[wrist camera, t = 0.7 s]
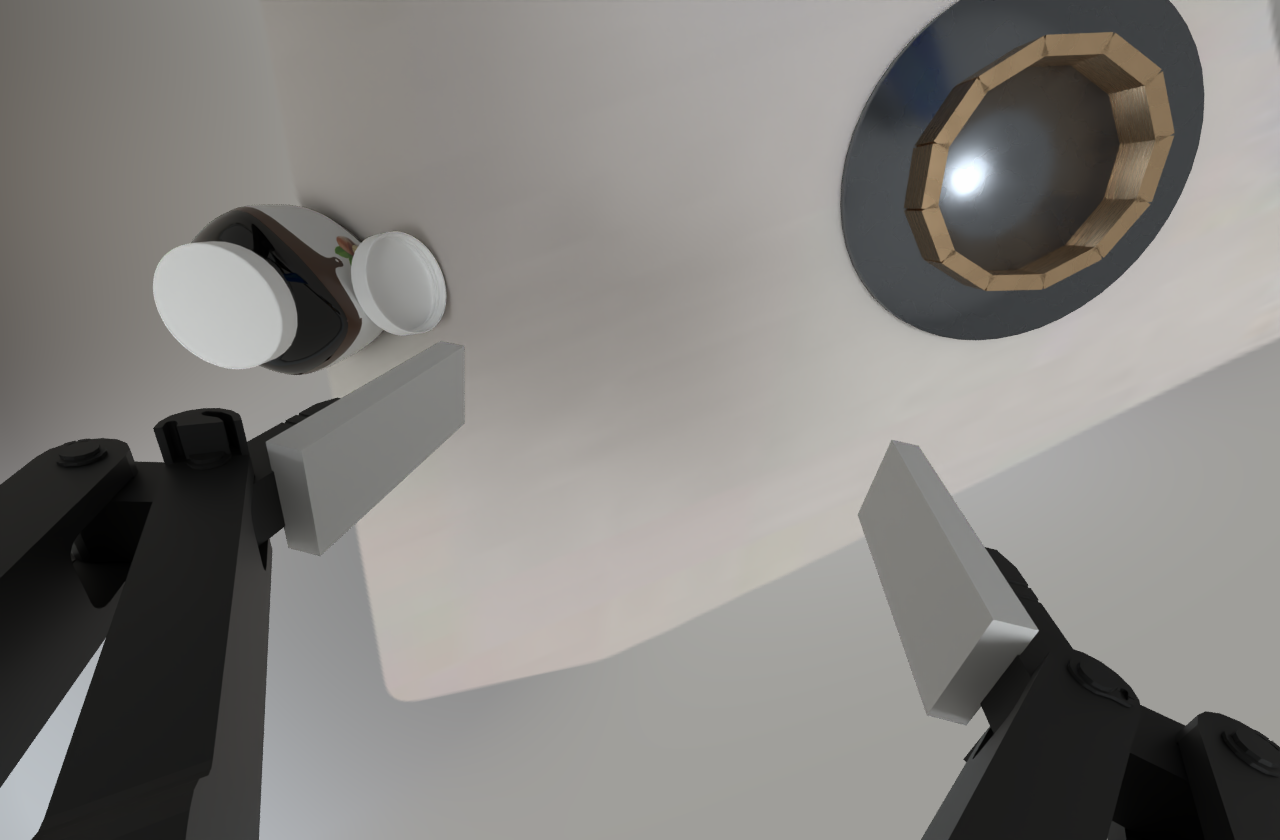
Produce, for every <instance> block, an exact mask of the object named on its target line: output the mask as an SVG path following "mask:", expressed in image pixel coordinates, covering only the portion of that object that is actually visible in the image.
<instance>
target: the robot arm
mask: <svg viewBox="0 0 1280 840" xmlns="http://www.w3.org/2000/svg"><path fill="white" fill-rule="evenodd" d="M463 424H464V346H462V345H457V344H452V343H448V342H443V341H440V342H439V343H437V344H435V345H433V346H432V347H430V348H428V349H426V350H425V351H423V352H421V353H419V354H418V355H416V356H414V357H412V358H411V359H409V360H407V361H405V362H404V363H402V364H400V365H398V366H397V367H395V368H393V369H391V370H390V371H388V372H386V373H385V374H383V375H381V376H379V377H378V378H376V379H374V380H372V381H371V382H369V383H367V384H365V385H364V386H362V387H360V388H358V389H357V390H355V391H353V392H351V393H350V394H348V395H346V396H344V397H343V398H335V399H331V400H328V401H324V402H321V403H317V404H315V405H313V406H311V407H309V408H308V409H306V410H304V411H302V412H301V413H299V415H295V416H293V417H292V418H289V419H288V420H286V422H285V423H280V424H279V425H277V426H275V427H273V428H271V429H270V430H268V431H266V432H264V433H262V434H261V435H259V436H257V437H255V438H253V439H252V440H250V441H248V442H247V441H246V437H245V432H244V428H243V424H242V420H241V417H240V415H239V414H238V413H235V412H234V411H231V410H226V409H220V408H207V409H206V408H203V409H196V410H189V411H185V412H181V413H178V414H174V415H171V416H169V417H167V418H165V419H164V420H161V421H160V422H158V424H157V425H156V426H155V427H154V428H153V429H154V432H155V435H156V438H157V441H158V444H159V447H160V450H161V453H162V456H163V459H164V462H165V463H162V462H134V459H133V456H132V453H131V451H130V448H129V446H128V445H127V443H125V442H123V441H120V440H117V439H104V438H101V439H82V440H78V441H77V442H76V441H72V442H68V443H65V444H63V445H61V446H58V447H56V448H52V449H49V450H48V451H46V452H44V453H42V454H41V455H39V456H37V457H36V458H35V459H33V460H32V461H30V462H29V463H28V464H27V465H25V466H24V467H23V468H21V469H20V470H19V471H18V472H16V473H15V474H14V475H12V476H11V477H10V478H9V479H7V480H6V481H5V482H3V483H2V484H1V485H0V787H1V786H2V785H3V783H4V782H5V780H6V779H7V778H8V776H9V774H10V773H11V772H12V770H13V769H14V768H15V766H16V765H17V763H18V762H19V761H20V759H21V758H22V756H23V755H24V753H25V752H26V751H27V749H28V748H29V746H30V745H31V743H32V742H33V741H34V739H35V738H36V736H37V735H38V733H39V732H40V731H41V729H42V728H43V726H44V725H45V724H46V722H47V721H48V719H49V718H50V716H51V715H52V714H53V712H54V711H55V709H56V708H57V706H58V705H59V704H60V702H61V700H62V699H63V698H64V696H65V695H66V693H67V692H68V691H69V689H70V688H71V686H72V685H73V683H74V682H75V681H76V679H77V678H78V676H79V675H80V674H81V672H82V671H83V669H84V668H85V667H86V665H87V664H88V662H89V661H90V659H91V658H92V657H93V655H94V654H95V652H96V651H97V650H98V648H99V646H100V645H101V644H102V642H103V641H104V640H105V638H106V640H105V642H104V645H103V648H102V651H101V654H100V657H99V660H98V663H97V666H96V669H95V672H94V675H93V678H92V681H91V684H90V686H89V689H88V692H87V695H86V698H85V701H84V704H83V707H82V709H81V713H80V715H79V718H78V721H77V724H76V727H75V730H74V733H73V736H72V739H71V742H70V745H69V747H68V750H67V754H66V756H65V759H64V762H63V765H62V768H61V771H60V774H59V777H58V780H57V783H56V786H55V788H54V791H53V794H52V797H51V800H50V803H49V806H48V809H47V812H46V815H45V818H44V820H43V822H42V824H41V827H40V829H39V831H38V832H37V834H36V835H35V836H34V837H33V838H32V840H259V823H260V803H261V779H262V760H263V738H264V716H265V695H266V675H267V653H268V632H269V610H270V590H271V568H272V547H271V543H270V538H271V537H272V536H273V535H274V534H276V533H277V532H278V531H279V530H281V529H282V528H283V527H284V530H285V534H286V539H287V544H288V548H291V549H295V550H299V551H303V552H306V553H310V554H314V555H318V556H321V555H322V554H323V553H324V552H325V551H326V550H327V549H328V548H330V547H331V546H332V545H333V544H334V543H335V542H336V541H337V540H338V539H339V538H341V537H342V536H343V535H344V534H345V533H346V532H347V531H348V530H349V529H350V528H351V527H352V526H354V525H355V524H356V523H357V522H358V521H359V520H360V519H361V518H362V517H363V516H364V515H365V514H367V513H368V512H369V511H370V510H371V509H372V508H373V507H374V506H375V505H376V504H377V503H378V502H380V501H381V500H382V499H383V498H384V497H385V496H386V495H387V494H388V493H389V492H390V491H392V490H393V489H394V488H395V487H396V486H397V485H398V484H399V483H400V482H401V481H402V480H403V479H405V478H406V477H407V476H408V475H409V474H410V473H411V472H412V471H413V470H414V469H415V468H416V467H418V466H419V465H420V464H421V463H422V462H423V461H424V460H425V459H426V458H427V457H428V456H429V455H431V454H432V453H433V452H434V451H435V450H436V449H437V448H438V447H439V446H440V445H441V444H442V443H444V442H445V441H446V440H447V439H448V438H449V437H450V436H451V435H452V434H453V433H454V432H455V431H457V430H458V429H459V428H460V427H461V426H462V425H463ZM858 517H859V520H860V523H861V526H862V528H863V531H864V534H865V537H866V540H867V543H868V546H869V549H870V552H871V554H872V557H873V560H874V563H875V566H876V569H877V571H878V575H879V578H880V580H881V583H882V586H883V589H884V592H885V595H886V598H887V601H888V604H889V606H890V609H891V612H892V615H893V618H894V621H895V624H896V627H897V630H898V633H899V636H900V639H901V642H902V644H903V647H904V650H905V653H906V656H907V659H908V662H909V664H910V667H911V671H912V673H913V676H914V679H915V682H916V685H917V688H918V691H919V694H920V697H921V700H922V702H923V705H924V708H925V711H926V714H927V715H928V716H932V717H936V718H940V719H944V720H947V721H951V722H955V723H959V724H963V725H967V724H968V723H969V721H970V720H971V719H972V717H973V716H974V715H975V713H976V712H977V711H978V710H979V708H980V707H982V709H983V711H984V713H985V715H986V717H987V720H988V722H989V724H990V727H989V728H988V729H987V731H986V732H985V733H984V734H983V736H982V737H981V738H980V739H979V741H978V742H977V743H976V744H975V746H974V747H973V748H972V750H971V751H970V752H969V753H968V754H967V756H966V757H965V758H964V760H965V761H966V764H965V766H964V768H963V769H962V771H961V773H960V774H959V776H958V778H957V779H956V781H955V783H954V785H953V786H952V788H951V790H950V791H949V793H948V795H947V796H946V798H945V800H944V802H943V804H942V805H941V807H940V809H939V810H938V812H937V814H936V815H935V817H934V819H933V820H932V822H931V824H930V825H929V827H928V829H927V831H926V832H925V834H924V836H923V837H922V839H921V840H1107V838H1108V840H1280V747H1279V746H1278V745H1276V744H1275V743H1274V742H1273V741H1270V740H1268V739H1269V738H1267V737H1266V736H1264V735H1263V734H1261V733H1260V732H1258V731H1256V730H1253V729H1252V728H1250V727H1248V726H1246V725H1245V724H1243V723H1241V722H1239V721H1237V720H1235V719H1232V718H1230V717H1227V716H1225V715H1222V714H1219V713H1213V712H1204V713H1201V714H1199V715H1197V716H1196V717H1195V718H1194V719H1193V720H1192V721H1191V722H1190V723H1189V724H1188V725H1186V726H1185V725H1183V724H1180V723H1178V722H1176V721H1174V720H1172V719H1169V718H1167V717H1165V716H1163V715H1161V714H1159V713H1156V712H1155V711H1152V710H1150V709H1148V708H1146V707H1144V706H1142V705H1140V702H1139V699H1138V698H1137V696H1136V695H1135V693H1134V692H1133V690H1132V688H1131V687H1130V686H1129V685H1128V684H1127V683H1126V682H1125V681H1124V680H1123V679H1122V678H1121V677H1120V676H1119V675H1118V674H1117V673H1115V672H1114V671H1113V670H1111V669H1110V668H1109V667H1107V666H1106V665H1104V664H1103V663H1102V662H1100V661H1098V660H1096V659H1095V658H1093V657H1091V656H1088V655H1087V654H1085V653H1083V652H1080V651H1077V650H1074V649H1073V648H1072V647H1071V645H1070V644H1069V643H1068V641H1067V640H1066V638H1065V637H1064V635H1063V634H1062V633H1061V631H1060V630H1059V628H1058V627H1057V625H1056V624H1055V623H1054V621H1053V620H1052V618H1051V617H1050V615H1049V614H1048V613H1047V611H1046V610H1045V608H1044V607H1043V605H1042V604H1041V603H1039V602H1038V598H1037V597H1036V595H1035V594H1034V593H1033V591H1032V590H1031V588H1028V584H1027V582H1026V581H1025V579H1024V578H1023V577H1022V576H1021V574H1020V572H1019V571H1018V569H1017V568H1016V567H1015V566H1014V565H1013V564H1012V563H1011V562H1009V561H1008V560H1007V559H1006V558H1005V557H1004V556H1003V555H1001V554H1000V553H999V552H998V551H997V550H994V549H990V548H986V547H984V546H983V544H982V542H981V541H980V539H979V538H978V536H977V535H976V533H975V532H974V530H973V529H972V527H971V526H970V524H969V523H968V521H967V519H966V518H965V516H964V515H963V513H962V512H961V510H960V509H959V507H958V506H957V504H956V503H955V501H954V500H953V498H952V496H951V495H950V493H949V492H948V490H947V489H946V487H945V486H944V484H943V483H942V481H941V480H940V478H939V476H938V475H937V473H936V472H935V470H934V469H933V467H932V466H931V464H930V463H929V461H928V460H927V458H926V456H925V455H924V453H923V452H922V450H921V449H920V447H919V446H917V445H912V444H908V443H903V442H899V441H894V440H891V443H890V445H889V447H888V449H887V451H886V454H885V456H884V458H883V460H882V462H881V465H880V467H879V469H878V471H877V473H876V476H875V478H874V480H873V482H872V484H871V487H870V489H869V491H868V493H867V495H866V498H865V500H864V502H863V504H862V507H861V509H860V511H859V513H858Z"/></svg>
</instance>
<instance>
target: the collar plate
mask: <svg viewBox="0 0 1280 840" xmlns="http://www.w3.org/2000/svg"><path fill="white" fill-rule="evenodd" d="M1203 111H1204V86H1203V75H1202V67H1201V63H1200V59H1199V55H1198V51H1197V47H1196V45H1195V42H1194V40H1193V38H1192V35H1191V33H1190V31H1189V28H1188V26H1187V24H1186V23H1185V21H1184V20H1183V18H1182V17H1181V15H1180V14H1179V12H1178V11H1177V9H1176V8H1175V6H1174V5H1173V4H1172V3H1171V2H1170V1H1169V0H960V1H958V2H957V3H955V4H954V5H953V6H951V7H950V8H949V9H947V10H946V11H945V12H943V13H942V14H941V15H939V16H938V17H937V18H935V19H934V20H933V21H931V22H930V23H929V24H928V25H927V26H926V27H925V28H924V29H923V30H922V31H921V32H920V33H919V34H918V35H916V36H915V37H914V38H913V39H912V40H911V41H910V42H909V43H908V45H907V46H906V47H905V48H904V49H903V50H902V52H901V53H900V54H899V55H898V56H897V57H896V59H895V60H894V61H893V62H892V63H891V65H890V66H889V68H888V69H887V71H886V72H885V74H884V75H883V76H882V78H881V79H880V81H879V82H878V84H877V85H876V87H875V89H874V90H873V92H872V94H871V96H870V98H869V100H868V101H867V103H866V105H865V107H864V109H863V111H862V113H861V116H860V118H859V121H858V123H857V125H856V128H855V130H854V133H853V136H852V139H851V142H850V146H849V149H848V153H847V156H846V160H845V166H844V172H843V178H842V187H841V218H842V228H843V233H844V238H845V243H846V247H847V250H848V253H849V256H850V258H851V261H852V264H853V266H854V268H855V270H856V272H857V274H858V276H859V278H860V279H861V281H862V283H863V284H864V285H865V287H866V288H867V289H868V291H869V292H870V294H871V295H872V296H873V297H874V298H875V299H876V300H877V301H878V302H879V303H880V304H881V305H882V306H883V307H884V308H885V309H886V310H888V311H889V312H890V313H892V314H893V315H895V316H896V317H897V318H899V319H900V320H902V321H904V322H906V323H908V324H910V325H912V326H914V327H916V328H919V329H921V330H923V331H926V332H929V333H932V334H935V335H938V336H942V337H948V338H954V339H962V340H986V339H998V338H1003V337H1008V336H1013V335H1018V334H1021V333H1025V332H1028V331H1031V330H1034V329H1037V328H1040V327H1042V326H1045V325H1047V324H1049V323H1051V322H1054V321H1056V320H1058V319H1061V318H1062V317H1064V316H1066V315H1068V314H1069V313H1071V312H1073V311H1075V310H1077V309H1078V308H1080V307H1082V306H1083V305H1085V304H1086V303H1087V302H1089V301H1090V300H1092V299H1093V298H1095V297H1096V296H1097V295H1099V294H1100V293H1102V292H1103V291H1104V290H1105V289H1106V288H1108V287H1109V286H1110V285H1111V284H1112V283H1113V282H1115V281H1116V280H1117V279H1118V278H1119V277H1120V276H1121V275H1122V274H1123V273H1124V272H1125V271H1126V270H1127V269H1128V268H1129V267H1130V266H1131V265H1132V264H1133V263H1134V262H1135V261H1136V260H1137V259H1138V258H1139V257H1140V255H1141V254H1142V253H1143V252H1144V251H1145V249H1146V248H1147V247H1148V246H1149V244H1150V243H1151V242H1152V241H1153V240H1154V238H1155V237H1156V235H1157V234H1158V232H1159V231H1160V229H1161V228H1162V226H1163V225H1164V223H1165V222H1166V220H1167V219H1168V217H1169V216H1170V214H1171V212H1172V210H1173V208H1174V206H1175V205H1176V203H1177V201H1178V199H1179V197H1180V195H1181V193H1182V191H1183V188H1184V186H1185V184H1186V181H1187V179H1188V176H1189V174H1190V172H1191V169H1192V166H1193V162H1194V159H1195V155H1196V152H1197V149H1198V145H1199V140H1200V134H1201V129H1202V123H1203Z"/></svg>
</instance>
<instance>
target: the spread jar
mask: <svg viewBox="0 0 1280 840" xmlns="http://www.w3.org/2000/svg"><path fill="white" fill-rule="evenodd" d="M153 293H154V299H155V303H156V306H157V309H158V312H159V314H160V316H161V318H162V320H163V322H164V324H165V325H166V327H167V328H168V329H169V331H170V332H171V334H172V335H173V336H174V337H175V338H176V339H177V340H178V341H179V342H180V344H181V345H182V346H184V347H185V348H186V349H188V350H189V351H190V352H191V353H193V354H194V355H196V356H197V357H199V358H201V359H202V360H204V361H206V362H209V363H211V364H214V365H216V366H220V367H224V368H228V369H248V368H253V367H255V366H258V365H259V366H262V367H264V368H267V369H269V370H272V371H276V372H280V373H284V374H291V375H301V374H308V373H312V372H316V371H319V370H322V369H324V368H327V367H329V366H331V365H333V364H335V363H337V362H339V361H341V360H344V359H346V358H347V357H349V356H351V355H353V354H355V353H356V352H358V351H360V350H361V349H363V348H364V347H366V346H367V345H368V344H370V343H371V342H372V341H373V340H374V339H376V338H377V337H378V336H379V335H380V334H381V332H382V331H383V330H385V331H386V332H389V333H392V334H394V335H401V336H405V335H413V334H421V333H425V332H428V331H430V330H431V329H433V328H434V327H435V326H436V325H437V324H438V323H439V322H440V320H441V318H442V316H443V314H444V311H445V307H446V298H447V297H446V286H445V281H444V277H443V274H442V271H441V269H440V266H439V264H438V262H437V260H436V259H435V257H434V256H433V254H432V253H431V252H430V251H429V249H428V248H427V247H426V246H425V245H424V244H423V243H422V242H420V241H419V240H418V239H416V238H415V237H413V236H412V235H409V234H407V233H404V232H399V231H391V232H385V233H381V234H377V235H373V236H371V237H369V238H366V239H365V240H364V241H363V242H362V241H361V240H360V239H359V238H358V237H356V236H355V235H354V234H353V233H351V232H350V231H349V230H347V229H346V228H344V227H343V226H341V225H340V224H338V223H337V222H335V221H333V220H332V219H330V218H328V217H326V216H325V215H323V214H321V213H319V212H316V211H314V210H311V209H308V208H305V207H298V206H293V205H251V206H244V207H239V208H236V209H233V210H231V211H229V212H227V213H225V214H223V215H221V216H219V217H217V218H216V219H214V220H213V221H211V222H210V223H209V224H208V225H207V226H205V227H204V228H203V230H201V231H200V232H199V234H198V235H197V236H196V237H195V238H194V240H193V241H192V242H191V243H190V244H184V245H181V246H179V247H176V248H174V249H172V250H170V251H169V252H168V253H167V254H166V255H165V256H163V258H162V259H161V261H160V262H159V264H158V265H157V268H156V271H155V274H154V280H153Z"/></svg>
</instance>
